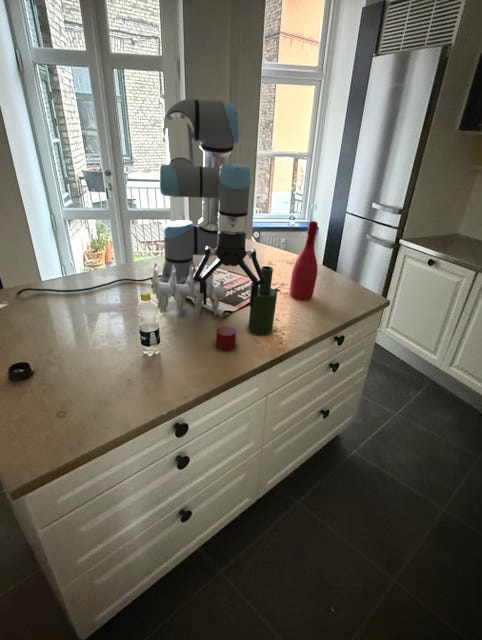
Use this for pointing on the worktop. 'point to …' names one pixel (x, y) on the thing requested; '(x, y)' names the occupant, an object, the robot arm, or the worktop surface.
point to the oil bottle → (263, 306)
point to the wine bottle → (305, 268)
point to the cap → (225, 338)
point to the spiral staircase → (186, 291)
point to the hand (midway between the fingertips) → (228, 304)
